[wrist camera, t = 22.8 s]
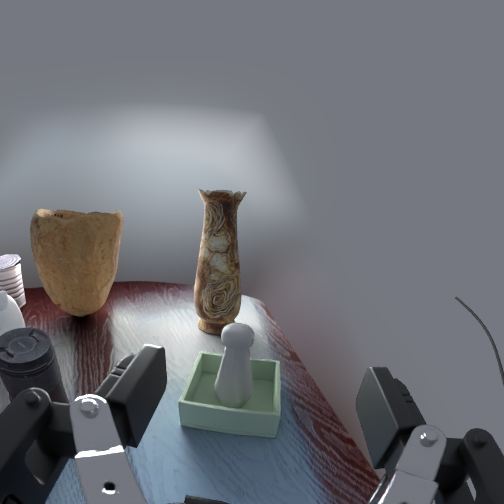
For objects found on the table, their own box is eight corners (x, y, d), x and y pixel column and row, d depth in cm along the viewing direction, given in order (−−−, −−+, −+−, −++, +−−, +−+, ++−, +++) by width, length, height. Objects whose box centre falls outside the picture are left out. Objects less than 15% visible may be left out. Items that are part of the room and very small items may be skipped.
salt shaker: (257, 396, 42) (267, 324, 39) (242, 418, 37) (250, 343, 34) (224, 384, 44) (228, 314, 41) (206, 404, 39) (207, 330, 36)
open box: (199, 373, 47) (199, 350, 46) (276, 382, 47) (279, 360, 46) (180, 425, 35) (178, 402, 34) (275, 438, 34) (280, 415, 33)
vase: (218, 341, 59) (227, 192, 52) (183, 323, 65) (187, 188, 58) (248, 325, 67) (260, 193, 60) (213, 310, 73) (221, 189, 66)
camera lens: (61, 464, 22) (17, 372, 19) (20, 435, 23) (-20, 345, 20) (91, 428, 30) (65, 338, 26) (51, 406, 31) (24, 319, 28)
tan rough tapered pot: (139, 302, 73) (138, 205, 67) (106, 345, 51) (96, 217, 45) (69, 291, 71) (64, 203, 65) (25, 325, 50) (10, 214, 44)
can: (32, 304, 59) (25, 260, 56) (-3, 316, 49) (-12, 269, 46) (19, 292, 64) (13, 252, 61) (-12, 301, 54) (-20, 259, 51)
